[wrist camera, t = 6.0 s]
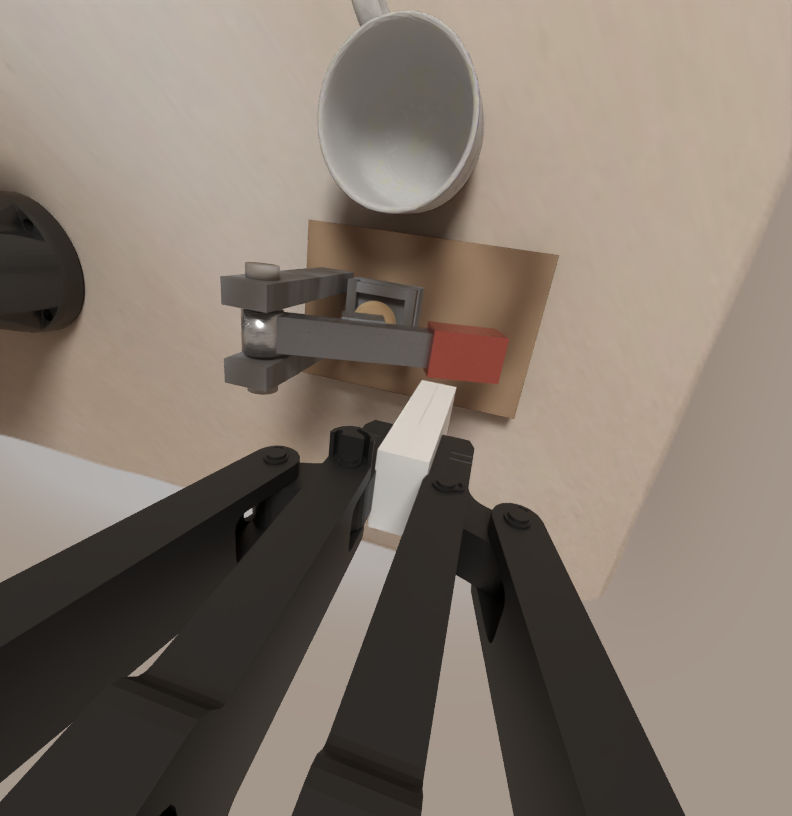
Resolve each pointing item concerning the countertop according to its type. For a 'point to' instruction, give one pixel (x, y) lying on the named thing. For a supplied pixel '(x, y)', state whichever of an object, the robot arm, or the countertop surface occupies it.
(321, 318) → the lever
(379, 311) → the walnut
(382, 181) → the teacup
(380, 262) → the press base
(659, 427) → the countertop surface
